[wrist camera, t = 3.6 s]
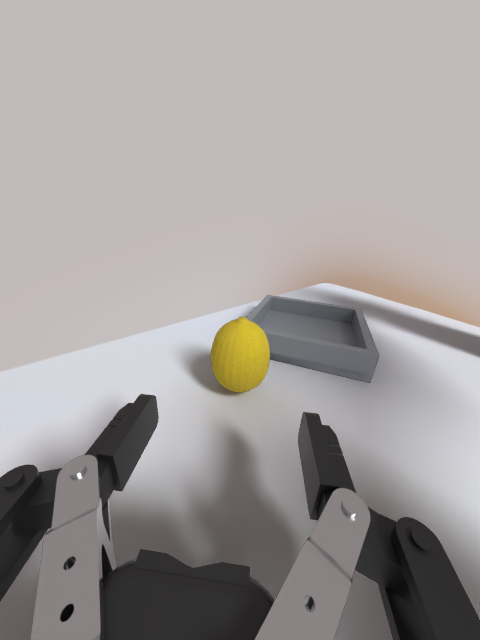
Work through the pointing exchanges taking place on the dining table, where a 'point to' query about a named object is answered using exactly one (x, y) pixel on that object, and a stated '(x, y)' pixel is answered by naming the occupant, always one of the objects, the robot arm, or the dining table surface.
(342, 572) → the robot arm
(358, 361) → the tray
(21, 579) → the dining table surface
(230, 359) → the lemon
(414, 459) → the dining table surface
